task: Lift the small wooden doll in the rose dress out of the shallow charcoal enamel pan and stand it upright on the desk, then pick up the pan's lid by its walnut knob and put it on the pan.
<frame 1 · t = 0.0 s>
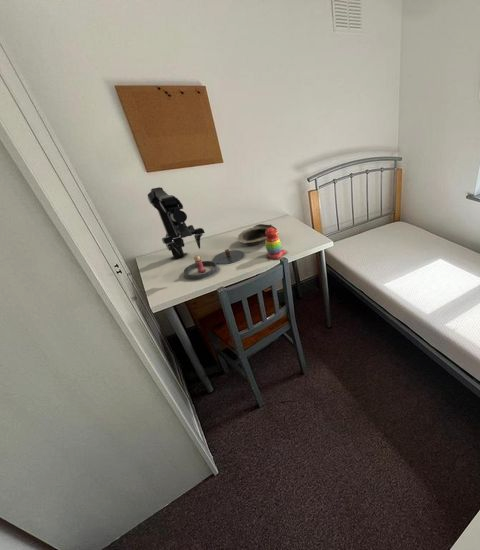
hand: (190, 251, 152), 15 cm above the table, tool pointing down, fingers open, 9 cm apart
stone bowl: (258, 243, 197), on the table
doll: (201, 271, 164), resting on pan
pan: (202, 272, 164), on the table
stacking bear: (276, 255, 181), on the table
lid: (229, 257, 178), point 1 cm above the table
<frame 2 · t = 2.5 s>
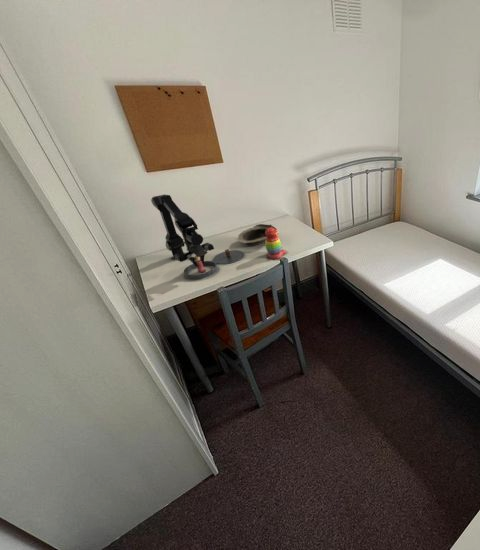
hand: (199, 265, 162), 5 cm above the table, tool pointing down, fingers closed on doll, 3 cm apart
doll: (201, 271, 164), resting on pan, touching gripper
everything else where it was.
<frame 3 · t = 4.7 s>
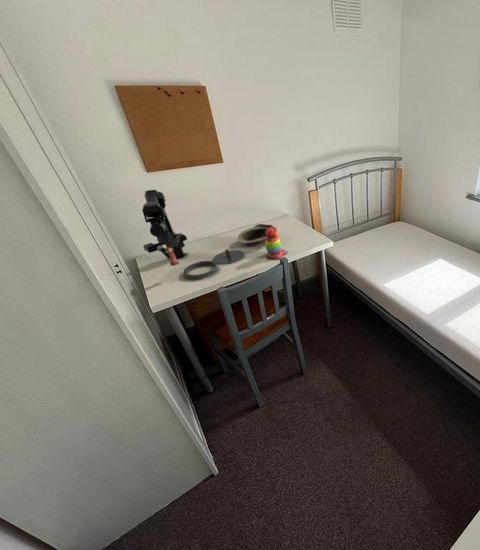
hand: (171, 257, 153), 12 cm above the table, tool pointing down, fingers closed on doll, 3 cm apart
doll: (174, 263, 155), point 8 cm above the table, touching gripper
everything else where it was.
when the fingers open (4 cm above the table, at t = 7.2 s): doll stays where it is, on the table.
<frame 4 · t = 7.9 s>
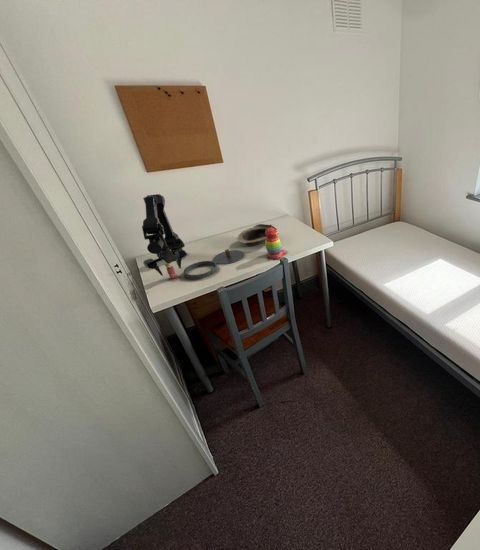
hand: (171, 271, 157), 4 cm above the table, tool pointing down, fingers open, 9 cm apart
doll: (174, 278, 159), on the table
everything else where it was.
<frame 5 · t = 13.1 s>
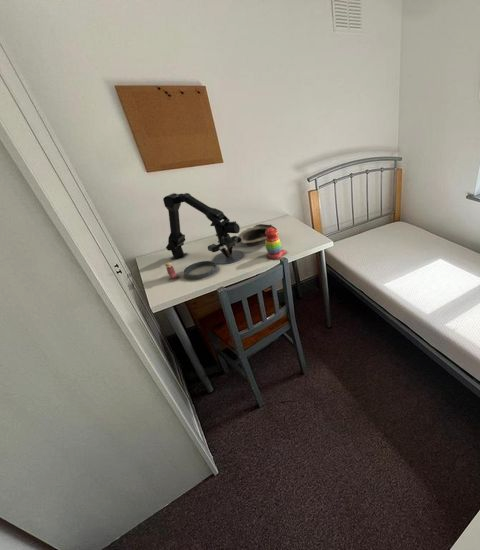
hand: (228, 256, 178), 1 cm above the table, tool pointing down, fingers closed on lid, 2 cm apart
lid: (229, 257, 178), point 1 cm above the table, touching gripper
everything else where it was.
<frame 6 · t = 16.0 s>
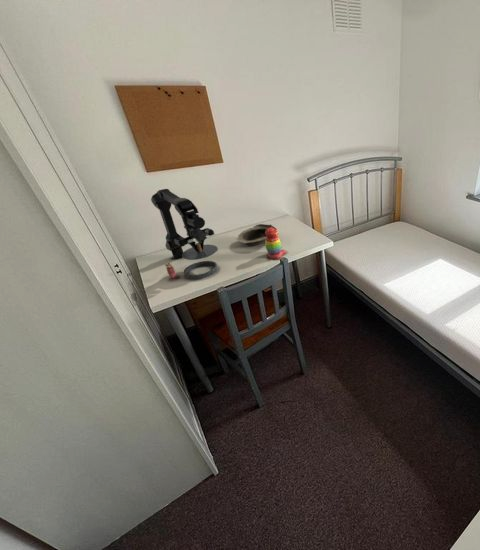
hand: (199, 251, 160), 12 cm above the table, tool pointing down, fingers closed on lid, 2 cm apart
lid: (200, 252, 160), point 12 cm above the table, touching gripper
everything else where it was.
when the fingers open (4 cm above the table, at t = 18.9 s): lid stays where it is, resting on pan.
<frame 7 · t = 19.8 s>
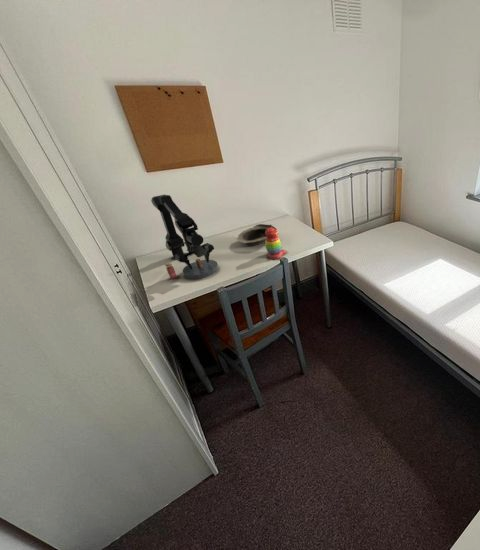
hand: (199, 265, 162), 4 cm above the table, tool pointing down, fingers open, 9 cm apart
lid: (200, 267, 162), point 3 cm above the table, touching pan
everything else where it was.
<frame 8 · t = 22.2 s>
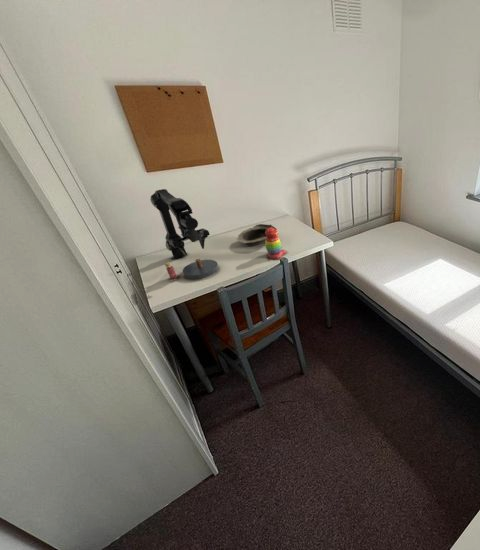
hand: (194, 251, 157), 13 cm above the table, tool pointing down, fingers open, 9 cm apart
nothing on the table moved.
at the end: doll inside the target area (0.1 cm from its centre), on the table; doll tilted 0°; lid 0.0 cm off-centre on the pan, point 3.0 cm above the pan's base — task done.
